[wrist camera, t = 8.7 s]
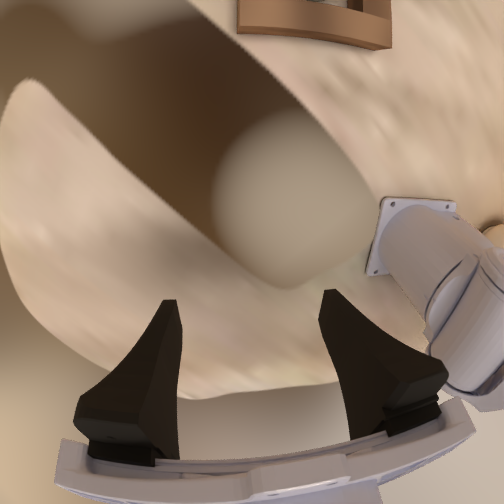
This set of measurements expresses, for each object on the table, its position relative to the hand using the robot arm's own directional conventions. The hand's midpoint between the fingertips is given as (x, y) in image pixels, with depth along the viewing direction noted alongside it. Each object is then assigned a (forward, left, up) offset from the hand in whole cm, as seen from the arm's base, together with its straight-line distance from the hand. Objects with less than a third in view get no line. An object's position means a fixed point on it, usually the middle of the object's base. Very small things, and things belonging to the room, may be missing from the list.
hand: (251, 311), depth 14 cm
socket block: (-5, -19, -10) cm, 22 cm away
